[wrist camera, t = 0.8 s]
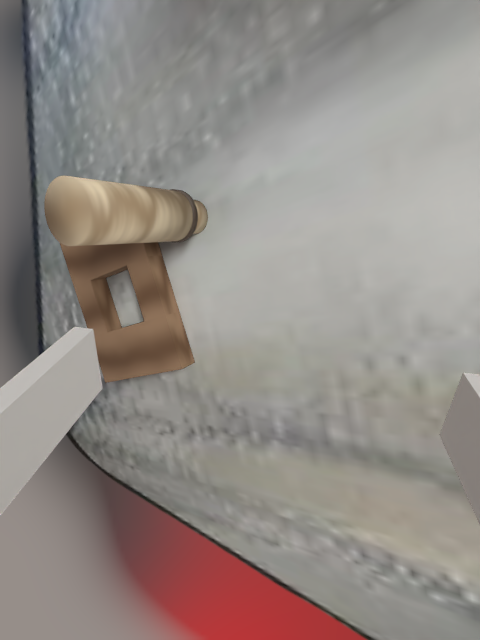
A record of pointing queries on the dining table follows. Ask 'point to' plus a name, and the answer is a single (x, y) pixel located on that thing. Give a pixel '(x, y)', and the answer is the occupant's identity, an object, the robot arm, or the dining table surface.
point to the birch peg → (119, 213)
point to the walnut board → (154, 300)
